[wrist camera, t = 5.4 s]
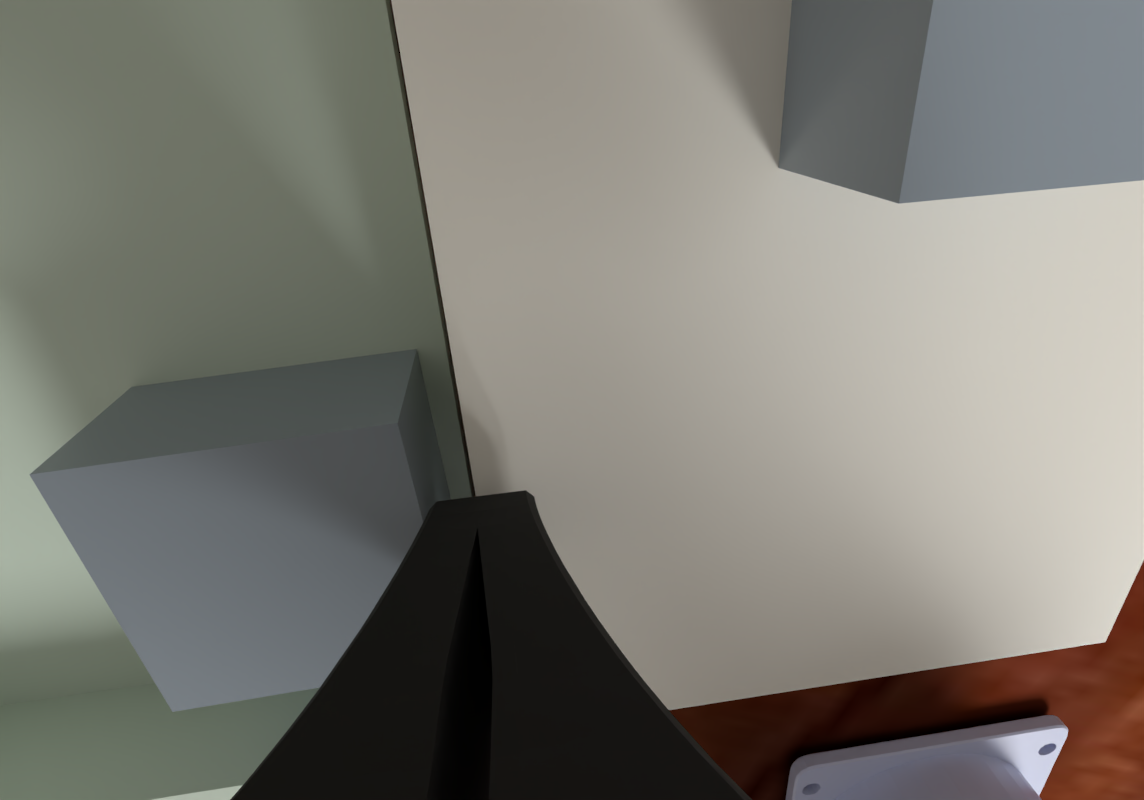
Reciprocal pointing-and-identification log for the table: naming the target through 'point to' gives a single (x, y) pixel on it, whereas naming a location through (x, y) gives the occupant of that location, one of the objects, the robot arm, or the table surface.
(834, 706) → the table surface
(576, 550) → the board
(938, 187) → the tile outer
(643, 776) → the robot arm
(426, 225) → the box
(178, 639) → the squat square grey block
